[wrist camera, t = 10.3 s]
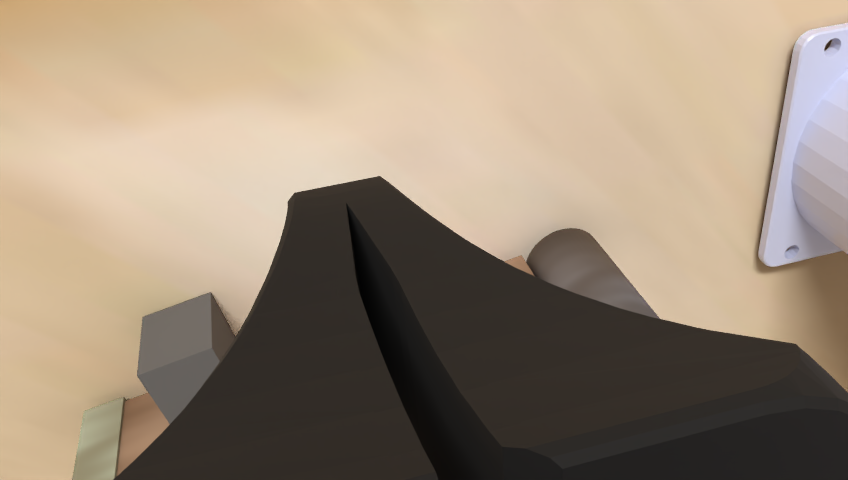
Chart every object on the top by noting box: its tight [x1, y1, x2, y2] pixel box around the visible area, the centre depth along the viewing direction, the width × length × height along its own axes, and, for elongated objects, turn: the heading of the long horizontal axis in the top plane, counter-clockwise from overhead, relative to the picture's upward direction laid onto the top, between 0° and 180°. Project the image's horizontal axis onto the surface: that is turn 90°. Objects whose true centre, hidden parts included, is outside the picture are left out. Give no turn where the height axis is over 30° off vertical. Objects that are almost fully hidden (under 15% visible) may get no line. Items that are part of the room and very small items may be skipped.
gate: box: [72, 228, 660, 480], centre depth 22 cm, size 16×2×5 cm, turn 107°
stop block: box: [137, 292, 235, 424], centre depth 22 cm, size 2×2×2 cm
